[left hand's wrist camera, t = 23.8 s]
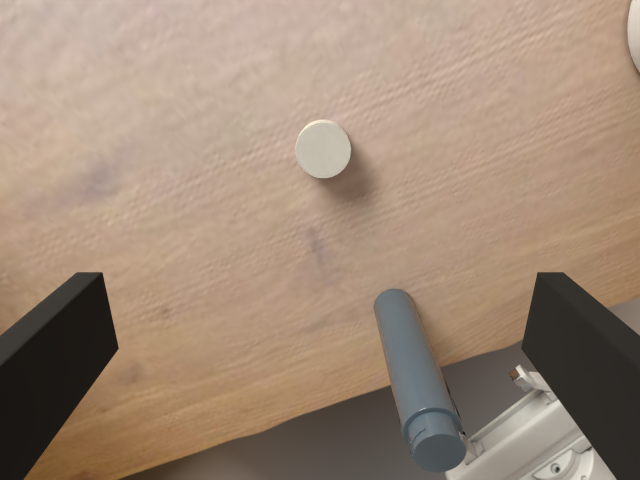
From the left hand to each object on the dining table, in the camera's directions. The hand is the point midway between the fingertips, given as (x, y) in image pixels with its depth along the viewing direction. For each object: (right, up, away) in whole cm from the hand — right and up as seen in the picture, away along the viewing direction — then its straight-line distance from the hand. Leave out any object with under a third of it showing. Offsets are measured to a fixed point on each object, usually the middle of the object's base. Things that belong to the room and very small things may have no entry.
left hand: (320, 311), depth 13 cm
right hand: (+17, -15, +31) cm, 38 cm away
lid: (0, +11, +26) cm, 28 cm away
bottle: (+8, -5, +35) cm, 36 cm away
